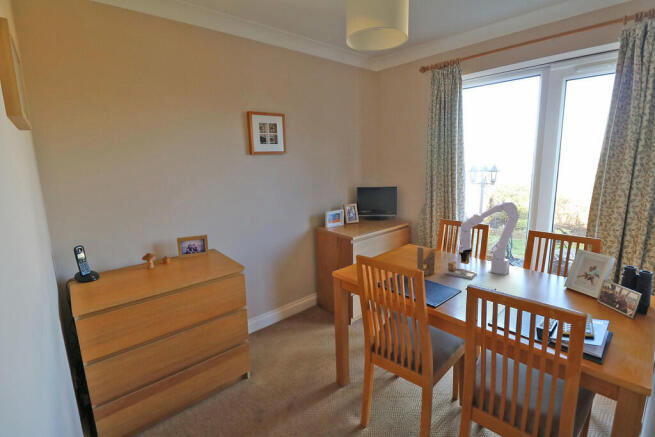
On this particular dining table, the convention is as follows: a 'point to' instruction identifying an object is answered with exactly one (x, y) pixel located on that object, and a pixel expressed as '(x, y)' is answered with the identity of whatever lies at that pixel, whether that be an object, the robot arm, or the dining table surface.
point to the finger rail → (460, 271)
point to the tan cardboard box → (466, 259)
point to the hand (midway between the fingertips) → (465, 260)
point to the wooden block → (425, 261)
